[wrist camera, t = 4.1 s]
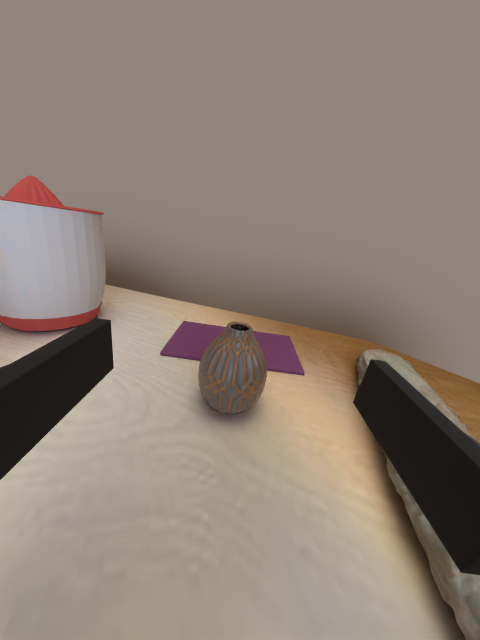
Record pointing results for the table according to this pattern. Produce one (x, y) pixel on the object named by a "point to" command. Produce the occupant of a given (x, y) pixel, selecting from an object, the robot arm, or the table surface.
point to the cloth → (198, 336)
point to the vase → (233, 370)
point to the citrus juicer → (48, 260)
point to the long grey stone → (455, 587)
